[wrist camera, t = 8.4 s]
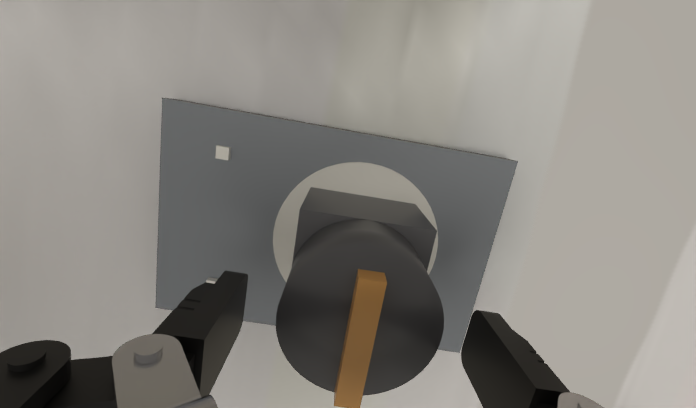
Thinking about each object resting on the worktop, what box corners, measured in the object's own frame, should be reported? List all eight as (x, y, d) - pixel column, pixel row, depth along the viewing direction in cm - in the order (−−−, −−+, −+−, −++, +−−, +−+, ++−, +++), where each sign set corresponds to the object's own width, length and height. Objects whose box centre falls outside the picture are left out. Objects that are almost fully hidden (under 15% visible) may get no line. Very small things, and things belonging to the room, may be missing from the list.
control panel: (167, 296, 19) (115, 347, 15) (175, 99, 16) (114, 92, 12) (452, 338, 20) (482, 399, 16) (506, 158, 17) (559, 171, 13)
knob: (310, 186, 16) (282, 242, 9) (415, 204, 16) (470, 271, 9) (297, 282, 17) (262, 399, 10) (394, 297, 18) (427, 420, 10)
